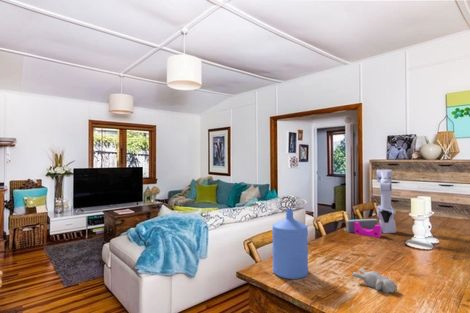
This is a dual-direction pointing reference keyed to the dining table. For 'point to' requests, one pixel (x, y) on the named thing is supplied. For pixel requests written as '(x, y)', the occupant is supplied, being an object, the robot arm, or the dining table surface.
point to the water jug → (290, 248)
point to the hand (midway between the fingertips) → (386, 222)
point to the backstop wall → (364, 223)
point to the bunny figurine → (377, 281)
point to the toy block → (373, 232)
